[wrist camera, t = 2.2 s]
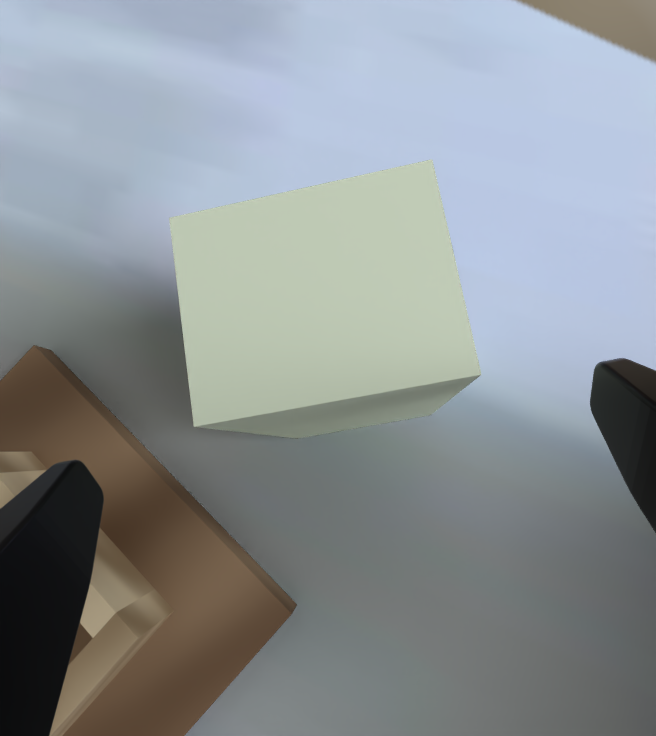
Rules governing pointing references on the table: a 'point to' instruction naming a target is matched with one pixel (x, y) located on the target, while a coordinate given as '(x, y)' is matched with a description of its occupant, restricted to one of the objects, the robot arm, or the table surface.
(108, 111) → the table surface
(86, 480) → the robot arm
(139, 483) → the dock
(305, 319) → the sage key block
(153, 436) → the table surface
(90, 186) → the table surface
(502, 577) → the table surface
